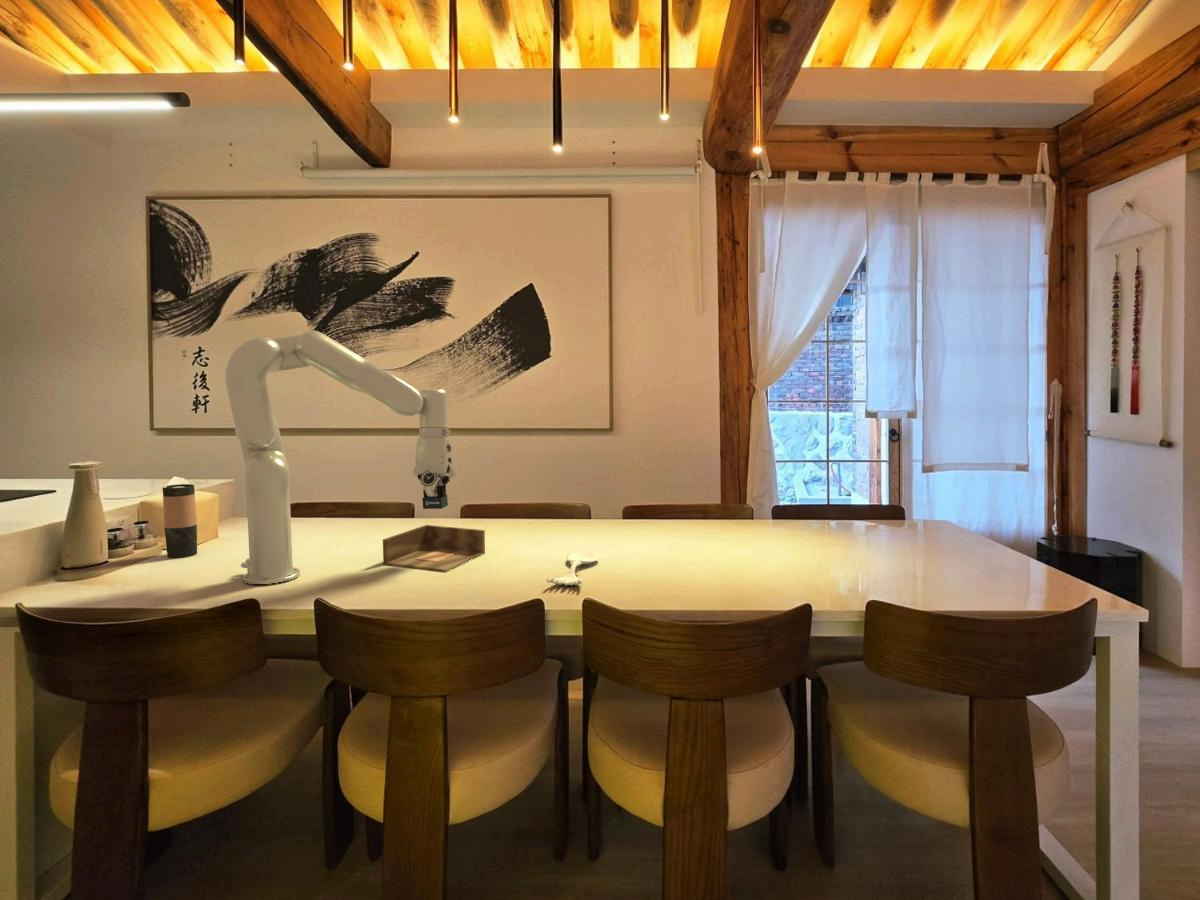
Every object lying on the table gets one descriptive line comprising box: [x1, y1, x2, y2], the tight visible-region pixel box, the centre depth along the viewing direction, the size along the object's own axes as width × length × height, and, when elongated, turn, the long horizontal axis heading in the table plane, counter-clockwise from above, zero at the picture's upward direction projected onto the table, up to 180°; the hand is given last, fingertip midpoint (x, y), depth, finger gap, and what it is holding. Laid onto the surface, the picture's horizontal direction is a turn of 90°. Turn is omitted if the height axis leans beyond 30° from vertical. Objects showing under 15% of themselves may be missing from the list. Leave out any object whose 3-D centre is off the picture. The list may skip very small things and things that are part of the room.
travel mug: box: [162, 483, 198, 559], centre depth 177 cm, size 8×8×20 cm
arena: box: [382, 524, 486, 572], centre depth 175 cm, size 20×20×7 cm
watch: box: [419, 471, 449, 510], centre depth 173 cm, size 6×8×11 cm
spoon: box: [546, 548, 600, 586], centre depth 163 cm, size 9×32×4 cm, turn 172°
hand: (434, 498), depth 174 cm, fingers closed on watch, 3 cm apart
